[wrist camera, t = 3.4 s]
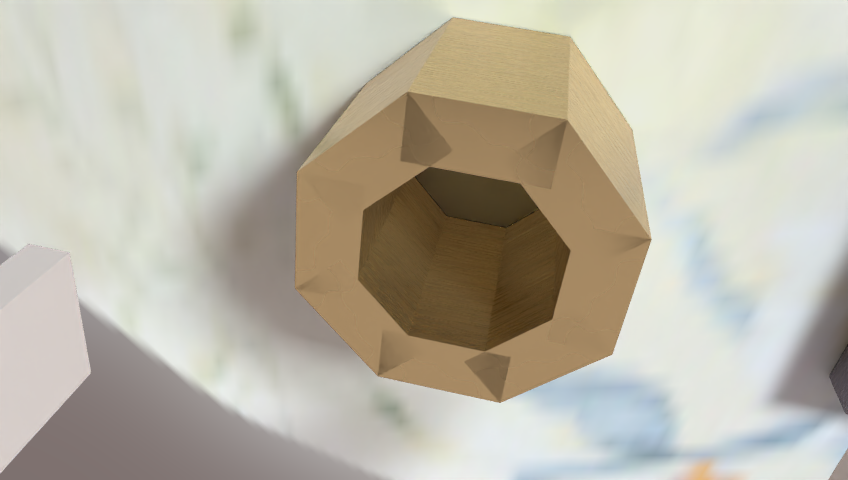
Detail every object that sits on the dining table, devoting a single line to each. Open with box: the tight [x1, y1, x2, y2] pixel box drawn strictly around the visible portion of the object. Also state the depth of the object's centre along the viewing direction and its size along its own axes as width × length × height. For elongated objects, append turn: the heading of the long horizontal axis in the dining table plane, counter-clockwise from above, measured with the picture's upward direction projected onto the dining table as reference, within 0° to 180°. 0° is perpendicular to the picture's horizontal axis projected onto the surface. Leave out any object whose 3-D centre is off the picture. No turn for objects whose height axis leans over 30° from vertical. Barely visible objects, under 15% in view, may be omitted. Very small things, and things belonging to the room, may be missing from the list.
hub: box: [295, 18, 651, 403], centre depth 17 cm, size 7×7×6 cm
